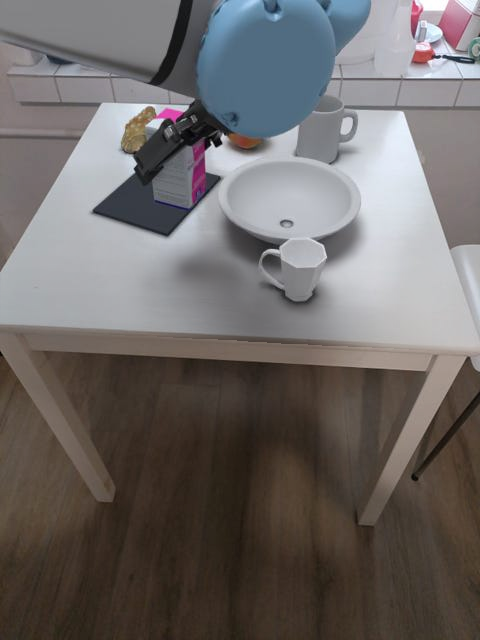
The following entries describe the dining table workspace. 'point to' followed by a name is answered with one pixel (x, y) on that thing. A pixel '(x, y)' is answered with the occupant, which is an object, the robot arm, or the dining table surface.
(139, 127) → the seashell
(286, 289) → the cup
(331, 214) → the white sink basin
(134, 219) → the mat
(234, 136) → the apple
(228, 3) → the robot arm
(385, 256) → the dining table surface
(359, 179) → the dining table surface
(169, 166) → the supplement box
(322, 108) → the mug
